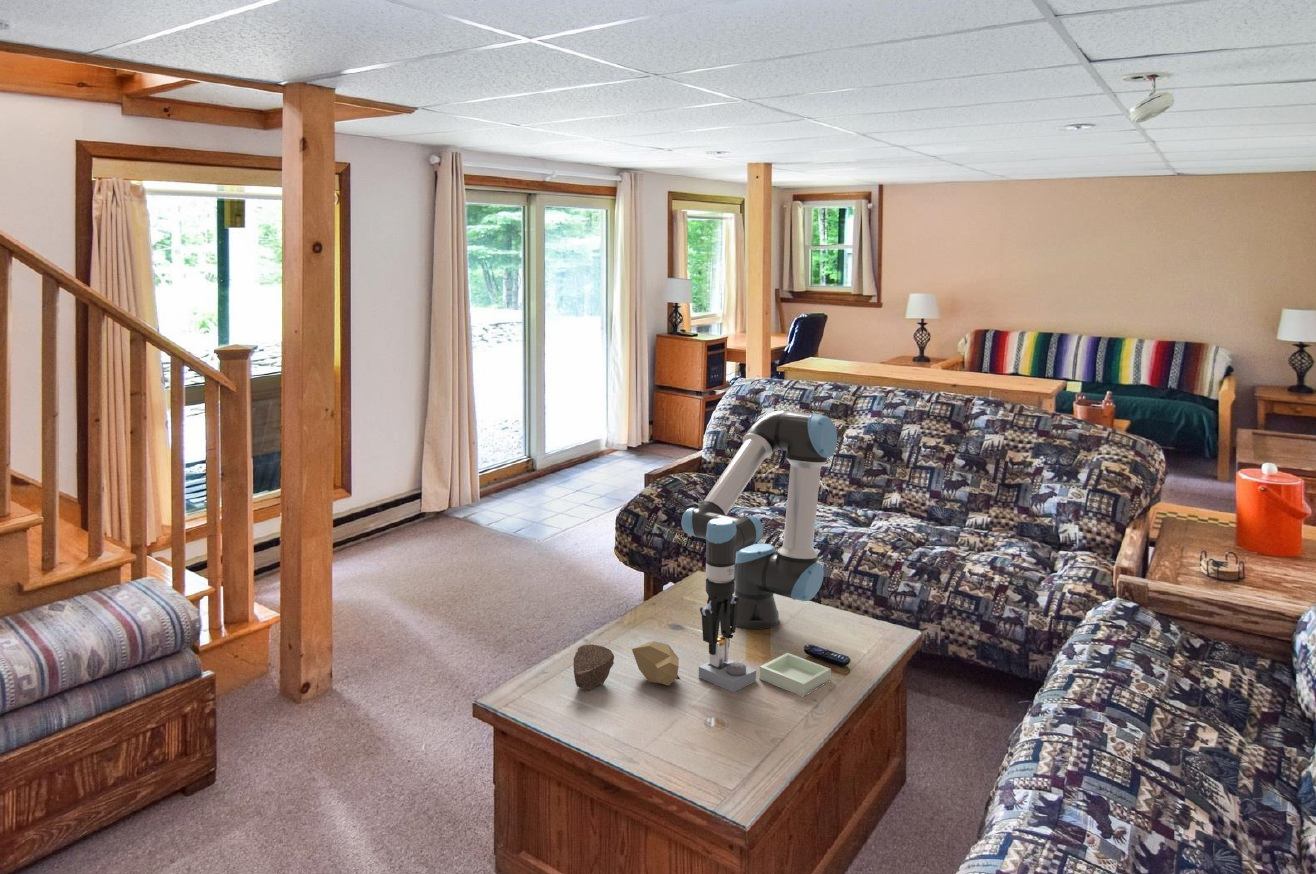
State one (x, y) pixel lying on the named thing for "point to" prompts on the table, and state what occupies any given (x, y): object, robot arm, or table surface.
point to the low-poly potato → (657, 662)
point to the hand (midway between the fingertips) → (718, 662)
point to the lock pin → (721, 654)
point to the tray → (795, 674)
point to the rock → (592, 666)
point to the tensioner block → (728, 675)
